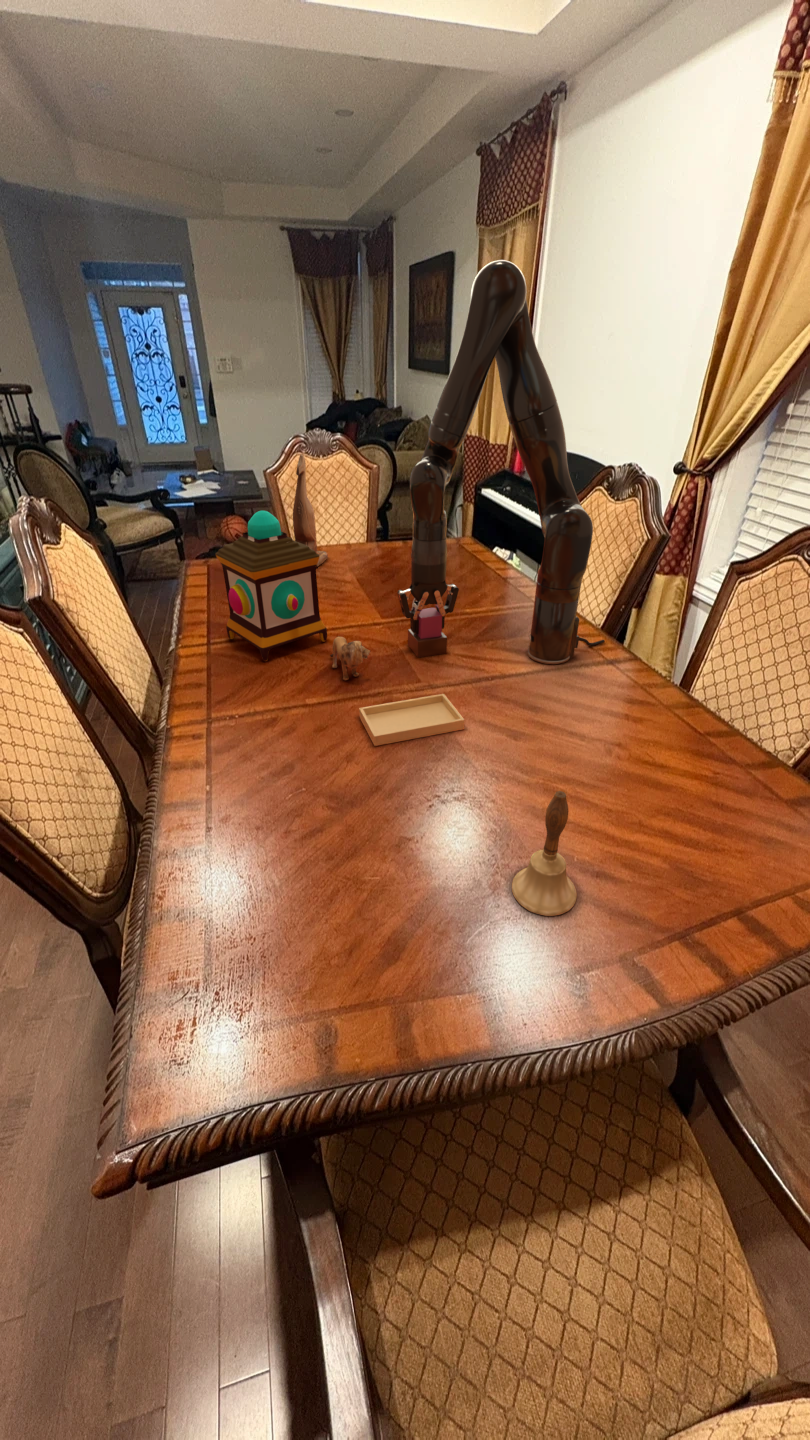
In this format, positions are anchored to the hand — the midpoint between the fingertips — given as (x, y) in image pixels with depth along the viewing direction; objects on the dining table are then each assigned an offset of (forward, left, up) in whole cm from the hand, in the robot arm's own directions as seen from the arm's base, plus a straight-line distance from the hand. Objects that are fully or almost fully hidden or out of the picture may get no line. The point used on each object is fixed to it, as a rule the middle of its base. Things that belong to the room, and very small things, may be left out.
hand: (427, 631), depth 138 cm
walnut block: (0, 0, -4) cm, 4 cm away
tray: (+14, +29, -4) cm, 33 cm away
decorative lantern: (+32, -16, -5) cm, 36 cm away
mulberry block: (0, 0, 0) cm, 0 cm away
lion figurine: (+20, +5, -5) cm, 21 cm away
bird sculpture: (+14, -73, -5) cm, 74 cm away
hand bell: (+11, +73, -5) cm, 74 cm away
